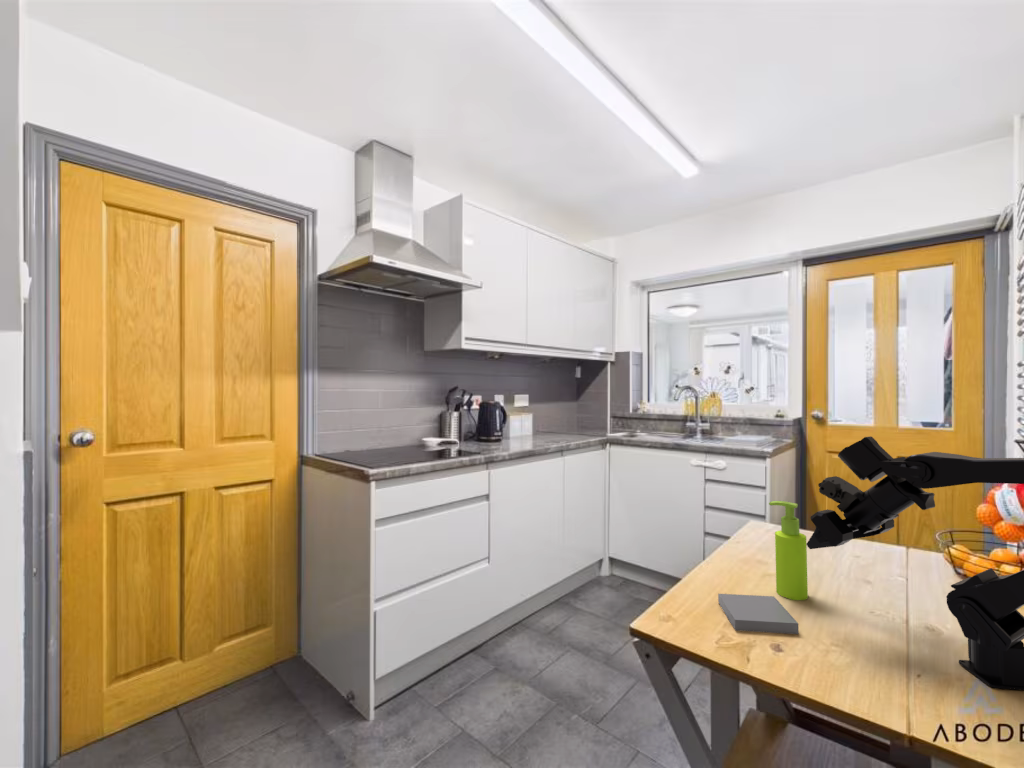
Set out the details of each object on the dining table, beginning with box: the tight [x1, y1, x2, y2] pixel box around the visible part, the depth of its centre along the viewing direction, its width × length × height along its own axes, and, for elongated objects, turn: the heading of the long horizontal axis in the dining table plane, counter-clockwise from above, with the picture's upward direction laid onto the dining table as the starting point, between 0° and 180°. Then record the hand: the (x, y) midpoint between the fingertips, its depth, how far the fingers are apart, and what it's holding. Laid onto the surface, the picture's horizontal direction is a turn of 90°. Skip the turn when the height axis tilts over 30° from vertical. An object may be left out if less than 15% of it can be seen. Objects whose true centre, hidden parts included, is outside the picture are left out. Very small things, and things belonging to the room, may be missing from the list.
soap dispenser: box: [768, 500, 809, 601], centre depth 101 cm, size 6×7×20 cm
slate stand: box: [717, 593, 799, 635], centre depth 91 cm, size 11×11×2 cm
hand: (822, 542), depth 94 cm, fingers open, 9 cm apart
